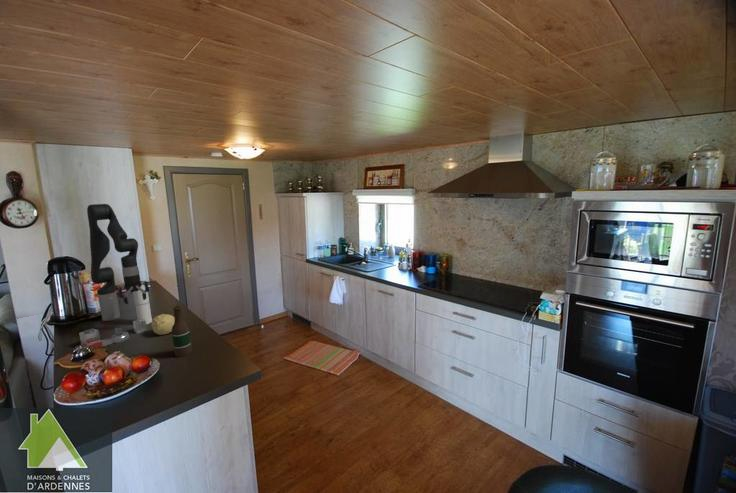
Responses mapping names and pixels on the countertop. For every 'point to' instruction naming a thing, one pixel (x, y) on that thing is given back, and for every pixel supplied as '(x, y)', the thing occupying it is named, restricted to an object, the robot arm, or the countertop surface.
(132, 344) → the countertop surface
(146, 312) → the cylindrical container
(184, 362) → the countertop surface
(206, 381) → the countertop surface
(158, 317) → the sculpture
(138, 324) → the socket
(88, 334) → the socket
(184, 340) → the beer bottle
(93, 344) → the wine glass
